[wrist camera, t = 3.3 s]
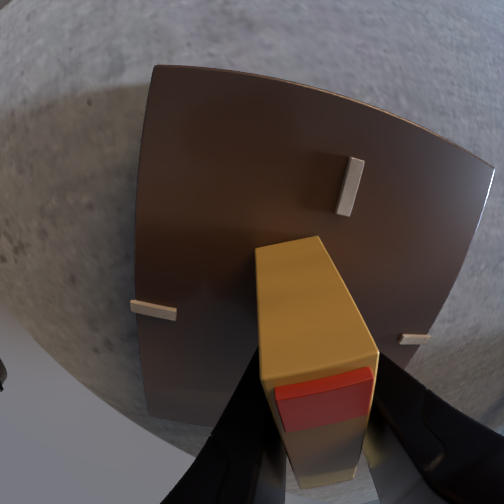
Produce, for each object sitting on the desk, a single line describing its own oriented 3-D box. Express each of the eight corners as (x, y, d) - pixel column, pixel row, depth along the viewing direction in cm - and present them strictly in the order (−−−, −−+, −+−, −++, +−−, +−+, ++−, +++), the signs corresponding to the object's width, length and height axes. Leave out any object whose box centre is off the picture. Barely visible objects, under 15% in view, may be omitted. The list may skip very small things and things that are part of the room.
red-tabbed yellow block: (331, 384, 9) (355, 485, 5) (288, 393, 9) (300, 496, 6) (318, 234, 7) (387, 365, 3) (254, 247, 7) (259, 393, 3)
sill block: (345, 388, 14) (357, 433, 11) (159, 369, 13) (145, 418, 10) (446, 153, 9) (500, 170, 6) (179, 81, 8) (146, 62, 5)
